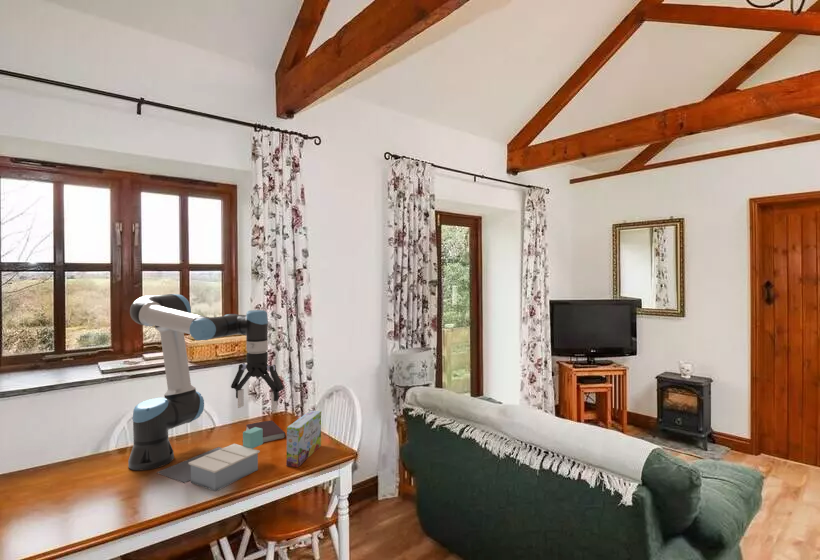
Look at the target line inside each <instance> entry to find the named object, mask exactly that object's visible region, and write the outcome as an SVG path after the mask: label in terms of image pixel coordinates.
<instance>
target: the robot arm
mask: <svg viewBox="0 0 820 560" xmlns="http://www.w3.org/2000/svg"><path fill="white" fill-rule="evenodd" d="M129 315H130V318H131V320H132V321H134V322H135V323H136V324H138V325H140V326H145V327H153V326H154V329H155V330H156V331H158V332H159V333H160V343H161V348H162V349H161V350H162V355H163V364H164V371H165V377H166V378H165V380H166V386H167V390H166V391H165V393H164V394H163V397H153V398H149V399H146V400H144V401H141V402H138V404H136V405H135V406H134V408H133V411H132V413H133V414H132V425H133V426H132V431H133V433H132V434H133V435H132V436H133V438H132V439H133V446H132V449H131V451H130V455H129V458H128V461H127V462H128V468H129V469H130V470H133V471H148V470H153V469H154V470H155V469H158V468H160V467H164V466H166V465H168V464H170V463H171V462H172V461H173V460H174V458H175V456H174V455H175V454H174V450H173V447H172V444H171V443H170V442H171V441H170V440H169V430H171V429H174V428H177V427H180V426H182V425H185V424H189V423H192V422H194V421H195V420H198V419H199V418H200V417H201V415H202V414H203V412H204V408H205V399H204V397H203V396H202V394H201V393H200V392H199V391H197V389H196V387H195V386H193V385H192V383H191V375H190V368H189V361H188V355H187V354H188V353H187V347H186V339H185V334H188V335H190V336H191V337H192V338H193V339H194V340H195V341H208V340H212V339H217V338H223V337H230V336H235V335H239V336H240V335H241V336H244V335H245V337H246V352H247V353H246V363H244V362H243V363H240V364H238V369H237V372H236V374H235V377H234V378H233V381H232V383H231V385H230V388H231V389H234V390H235V398H236V399H237V409H240V408H243V407H244V405H245V403H244V402H245V401H244V400H245V399H244V398H245V396H244V395H245V394H244V393H245V391H244V388H243V387H244V385H246V383H247V382H248V381H249V379H250V378H261V379H263V380H264V381H265V383H266V384H267V386H269V388H270V390H271V391H272V392H271V395H270V397H271V400H270V401H271V402H270V403H271V404H270V406H271V407H270V408H271V411H272V412H273V411H275V410H276V409H277V408H278V406H277V405H278V403H277V402H278V401H279V400H280V395H279V394H280V392H281V391H283V390H284V389H285V387H284V385H283V383H282V381H281V378H280V376H279V374H278V372H277V369H276V368H277V367H276V365H275V364H271V365H268V360H269V359H268V358H269V352H267V351H269V348H268V346H269V345H268V343H269V342H268V341H269V340H268V328H269V319H268V318H269V317H268V311H266V310H264V309H263V310H262V309H253V310H252V309H251V310H250V309H249V310H247V311H246V314H238V313H237V314H236V313H228V314H227V313H226V314H224V315H221V316H212V317H210V316H205V315H200V314H196V313H193V312H192V307H191V304H190V301H189V300H188V298H186V297H185V296H184V295H182V294H179V293H178V294H177V293H169V294H167V293H166V294H157V295H155V294H154V295H152V294H151V295H144V296H140V297H138V298H137V299H135V300H134V301H133V302H132V304H131V305H130V308H129ZM245 370H246V371H247V372H246V374H245V375H244V377H243V378H242V376H243V374H244V372H245Z"/></svg>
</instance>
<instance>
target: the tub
mask: <svg viewBox="0 0 820 560" xmlns="http://www.w3.org/2000/svg"><path fill="white" fill-rule="evenodd" d="M258 454H259V453H257V454H255V455H253V456H251V457H248V458H246V459H244V460H242V461H240V462H238V463H235V464H233V465H231V466H229V467H227V468H225V469H222V470H220V471H218V472H216V473H213V472H210V471H207V470H204V469H201V468H198V467H195V466H192V465H191V480H190V483H192V484H194V485H197V486H200V487H202V488H205V489H209V490H211V491H213V492H217V491H219V490H221V489H223V488H225V487H227V486H229V485H231V484H232V483H235V482H237V481H238V480H240V479H242V478H245V477H247V476H249V475H251V474H252V473H254V472H256V471H258V470H259V457H258V456H259V455H258Z"/></svg>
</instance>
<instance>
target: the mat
mask: <svg viewBox="0 0 820 560" xmlns="http://www.w3.org/2000/svg"><path fill="white" fill-rule="evenodd" d="M221 448H222V447H219V446H218V447H216V448H213V449H210V450H207V451H205V452H203V453H201V454H198V455H196V456H193V457H191V458H188V459H186V460H183V461H181V462H179V463H176V464H174V465H171V466H168V467H167V468H164V469H161V470H159V471H157V472H156V474H158V473H159V475H161V476H164V477H165V478H166V477H167V478H169V479H172V480H173V481H174V480H175V481H177V482H180V483H183V484H186V483H188V482H191V465H189V464H188V462H191V461H193V460H196V459H198V458H200V457H203V456H205V455H208V454H210V453H212V452H215V451H217V450H220V449H221Z"/></svg>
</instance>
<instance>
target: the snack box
mask: <svg viewBox="0 0 820 560" xmlns="http://www.w3.org/2000/svg"><path fill="white" fill-rule="evenodd" d="M321 446H322V410H308V412H306V413H304V414H303V415H302V416H301V417H299V418H298V419H297V420H295V421H294V422H293V423H292V422H291V424H289V425H288V426H287V427H286V463H285V464H286V465H285V466H286V467H295V468H299V467H300V466H301V465H303V463H304V462H305V461H306V460H307V459H308V458H310V457H311V456H312V455H313V454H314V453H315V452H316V451H317V450H318V449H319V448H320V447H321Z"/></svg>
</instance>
